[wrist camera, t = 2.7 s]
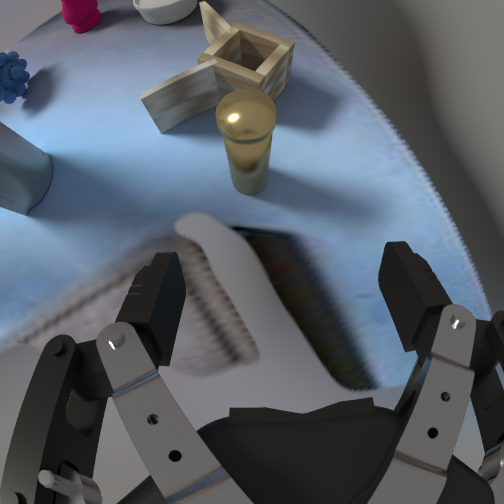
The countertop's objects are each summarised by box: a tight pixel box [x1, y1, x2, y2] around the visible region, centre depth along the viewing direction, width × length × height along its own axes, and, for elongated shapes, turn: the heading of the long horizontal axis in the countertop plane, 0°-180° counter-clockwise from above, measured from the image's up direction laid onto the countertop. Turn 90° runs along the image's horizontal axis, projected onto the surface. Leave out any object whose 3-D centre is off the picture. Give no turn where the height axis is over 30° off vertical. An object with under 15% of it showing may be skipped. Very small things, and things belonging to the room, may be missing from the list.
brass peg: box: [215, 89, 277, 195], centre depth 26 cm, size 4×4×14 cm
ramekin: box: [133, 0, 197, 25], centre depth 35 cm, size 11×11×5 cm
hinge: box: [139, 1, 295, 134], centre depth 31 cm, size 18×15×8 cm
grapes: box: [0, 51, 30, 104], centre depth 30 cm, size 12×7×12 cm, turn 3°
